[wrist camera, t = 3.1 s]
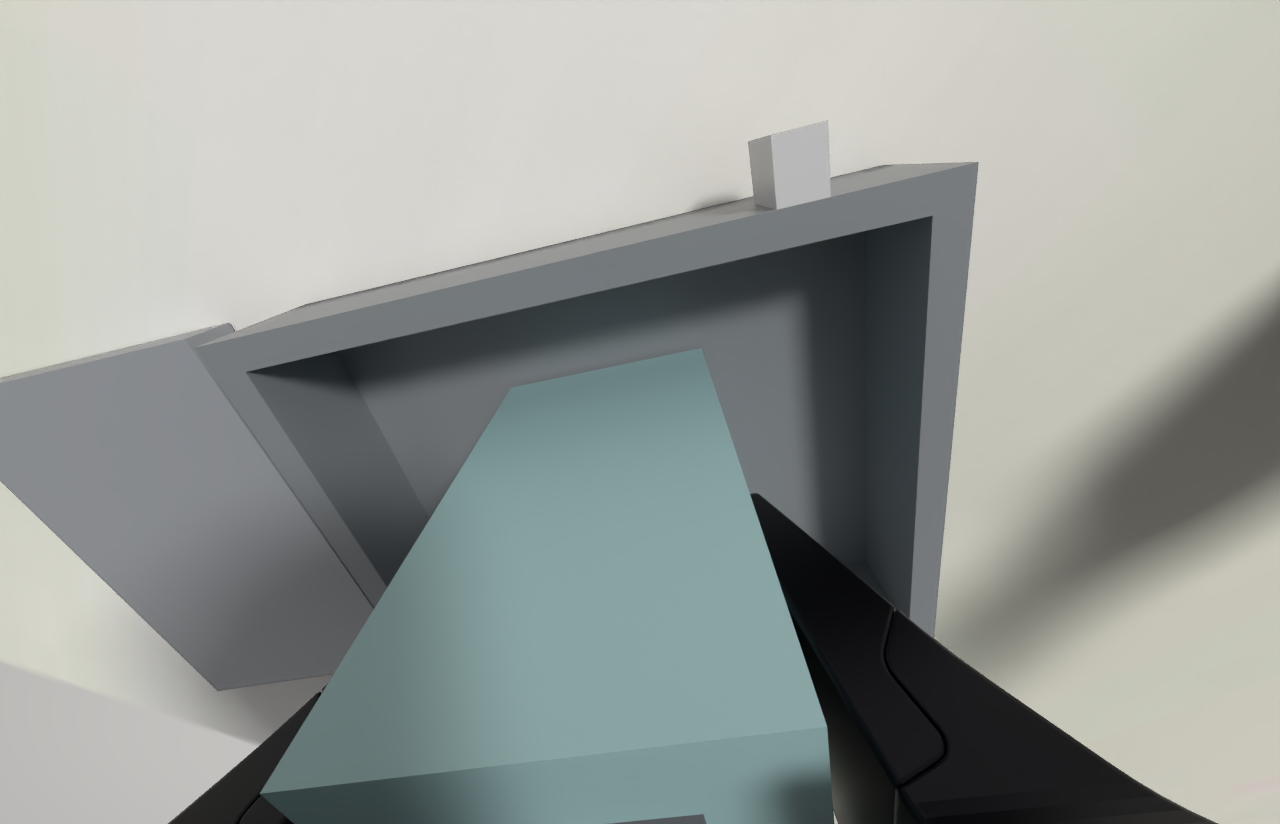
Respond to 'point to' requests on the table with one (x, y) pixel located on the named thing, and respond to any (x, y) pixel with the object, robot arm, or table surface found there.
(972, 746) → the robot arm
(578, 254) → the case
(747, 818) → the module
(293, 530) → the lid panel
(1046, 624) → the table surface
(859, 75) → the table surface
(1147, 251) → the table surface
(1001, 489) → the table surface
